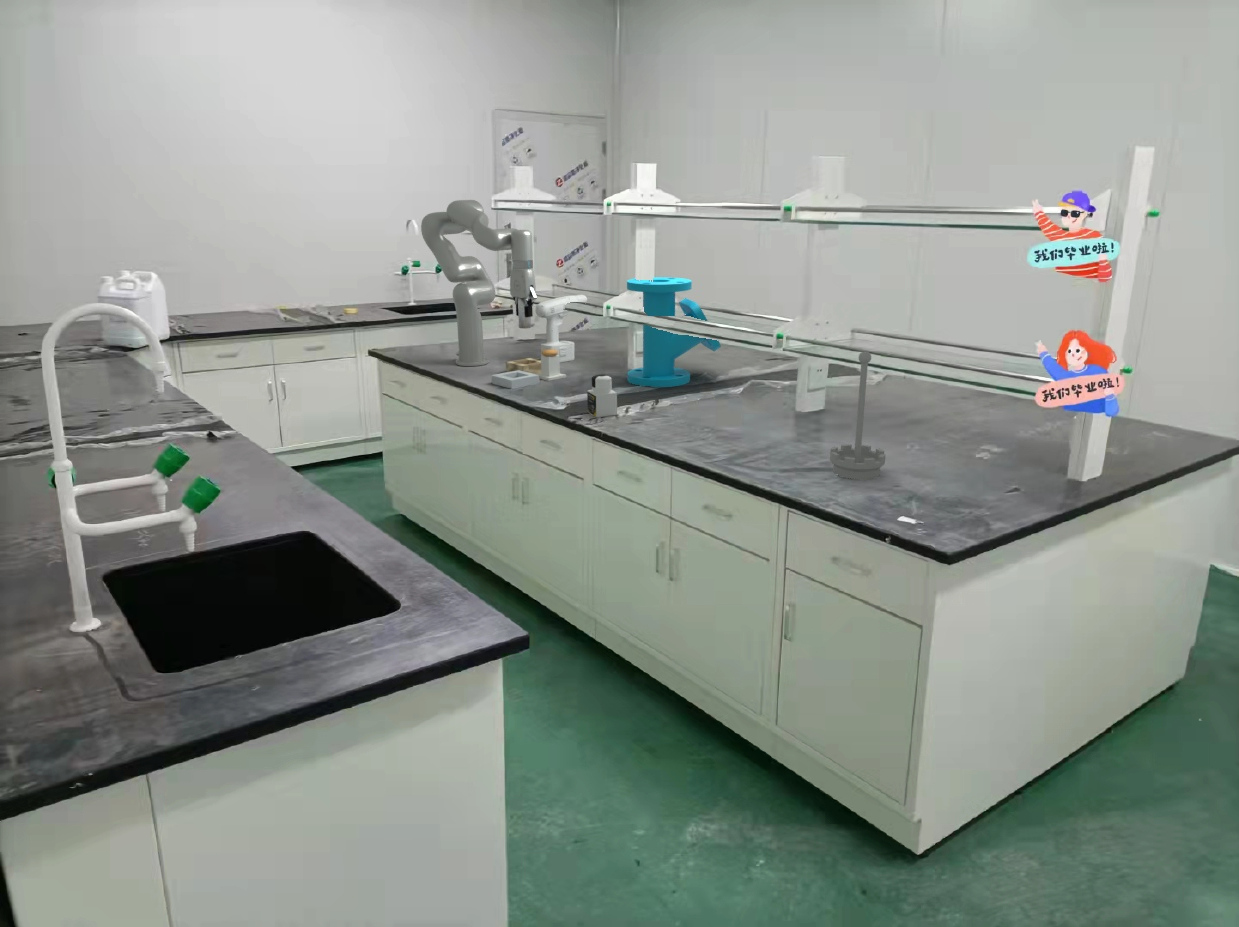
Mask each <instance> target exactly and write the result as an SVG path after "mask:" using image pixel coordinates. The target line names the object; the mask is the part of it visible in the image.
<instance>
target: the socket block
mask: <svg viewBox="0 0 1239 927" xmlns="http://www.w3.org/2000/svg"><path fill="white" fill-rule="evenodd" d="M491 384H492V385H495V386H499V387H503V388H507V389H511V390H514V389H518V388H525V387H530V386H533V385H534V386H535V385H538V384H539V385H540V379H539V375H536V374H532V373H528V372H524V371H520V370H517V371H512V372H506V371H505V372H500V373H497V374H492V375H491Z"/></svg>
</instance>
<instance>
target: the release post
mask: <svg viewBox="0 0 1239 927" xmlns="http://www.w3.org/2000/svg"><path fill="white" fill-rule="evenodd" d="M540 360H541V374H537V375H539V380H544V381H548V382H549V381H555V380H559V379H561V380H562V379H566V378H567V374H565V373H561V372H560V371H561V368H560V367H561V365H560V364H561V363H560V359H559V356H558V355H556V356H553V357H546V356H544V355H542V356H541V355H540Z"/></svg>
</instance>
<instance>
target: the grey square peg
mask: <svg viewBox="0 0 1239 927" xmlns="http://www.w3.org/2000/svg"><path fill="white" fill-rule="evenodd" d="M528 301H529V299H528ZM524 306H526V305H525V300H524V298H519V297H518V316H517V317H518V328H519V329H531V328H532V319H531V318H532V317H525V312H524Z"/></svg>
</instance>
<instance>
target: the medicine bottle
mask: <svg viewBox="0 0 1239 927" xmlns="http://www.w3.org/2000/svg"><path fill="white" fill-rule="evenodd" d="M612 380H613V378H612V376H611V375H609V374H596V375H593V376H592V377H591V389H588V390H586V392H587V394H586V395H587V396H586V397H587V398H586V399H587V400H586V401H587V404H586V405H587V413H589V414H590V415H591V414H592V415H591V416H594V417H595V418H603V417H613V416H618V392H616V391H615V390H613V386H612V385H613V381H612Z"/></svg>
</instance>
